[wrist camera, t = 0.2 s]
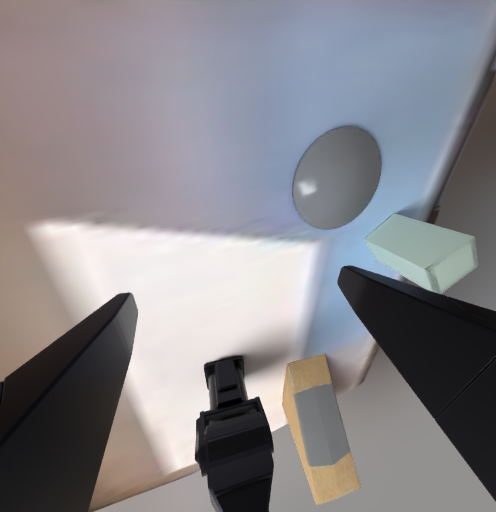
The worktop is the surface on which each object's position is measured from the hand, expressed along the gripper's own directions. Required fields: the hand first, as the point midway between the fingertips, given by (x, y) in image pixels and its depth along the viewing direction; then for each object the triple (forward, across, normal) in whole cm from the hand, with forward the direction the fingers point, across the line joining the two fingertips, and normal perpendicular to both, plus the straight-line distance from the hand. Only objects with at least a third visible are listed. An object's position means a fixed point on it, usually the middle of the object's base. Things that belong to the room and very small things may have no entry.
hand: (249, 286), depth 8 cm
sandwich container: (+14, -16, +38) cm, 44 cm away
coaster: (+14, -14, -2) cm, 20 cm away
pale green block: (+14, -24, +6) cm, 29 cm away
